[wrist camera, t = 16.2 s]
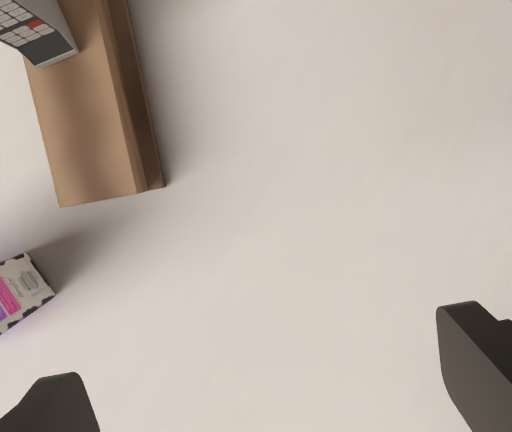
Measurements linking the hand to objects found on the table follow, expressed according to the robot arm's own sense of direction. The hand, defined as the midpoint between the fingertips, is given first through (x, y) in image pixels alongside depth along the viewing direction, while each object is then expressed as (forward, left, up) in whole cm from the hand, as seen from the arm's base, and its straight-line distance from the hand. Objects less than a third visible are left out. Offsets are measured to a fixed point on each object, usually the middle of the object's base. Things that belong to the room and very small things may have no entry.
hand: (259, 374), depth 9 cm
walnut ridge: (+13, -15, -35) cm, 40 cm away
